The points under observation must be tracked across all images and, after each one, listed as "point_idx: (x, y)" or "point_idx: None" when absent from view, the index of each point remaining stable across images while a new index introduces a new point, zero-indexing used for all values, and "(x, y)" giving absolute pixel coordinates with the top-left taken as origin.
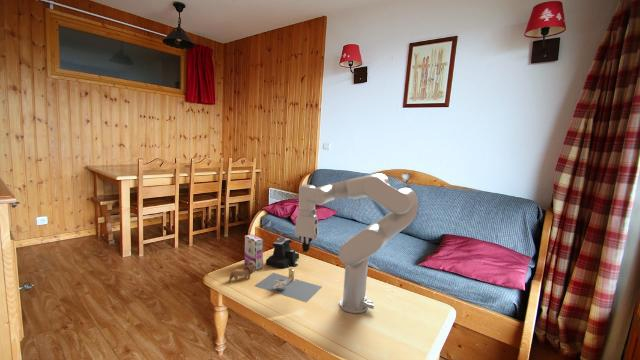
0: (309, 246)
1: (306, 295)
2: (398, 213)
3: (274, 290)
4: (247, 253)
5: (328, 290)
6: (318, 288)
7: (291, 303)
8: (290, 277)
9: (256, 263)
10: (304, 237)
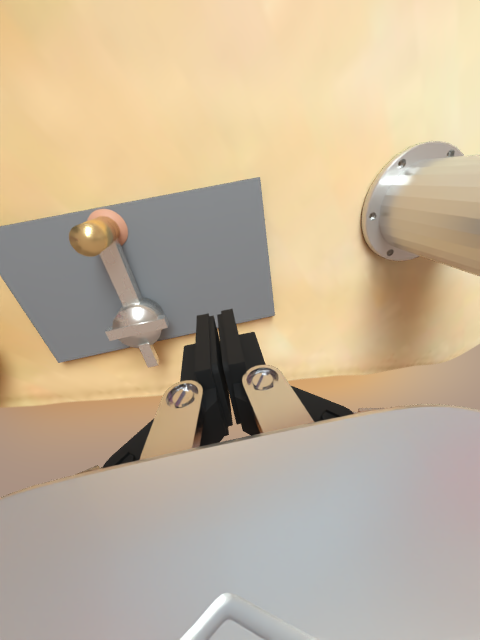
0: (259, 348)
1: (249, 284)
2: None
3: None
4: None
5: (286, 168)
6: (255, 206)
7: None
8: (109, 246)
9: None
10: (176, 448)
